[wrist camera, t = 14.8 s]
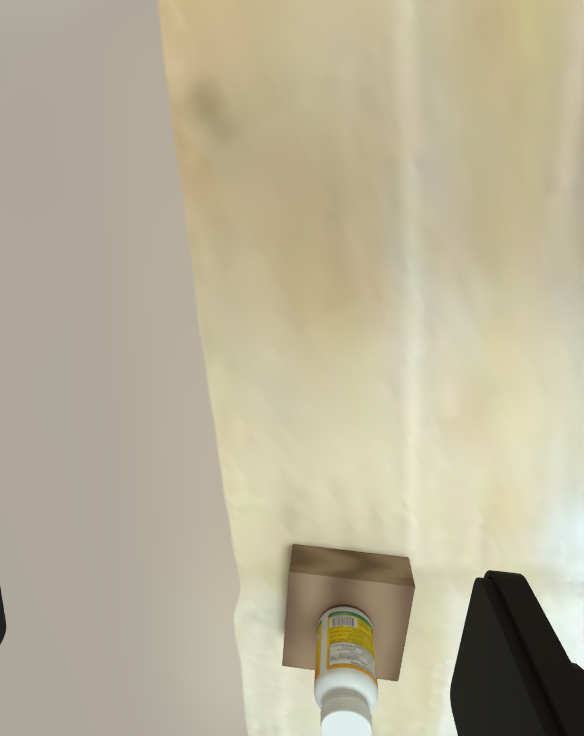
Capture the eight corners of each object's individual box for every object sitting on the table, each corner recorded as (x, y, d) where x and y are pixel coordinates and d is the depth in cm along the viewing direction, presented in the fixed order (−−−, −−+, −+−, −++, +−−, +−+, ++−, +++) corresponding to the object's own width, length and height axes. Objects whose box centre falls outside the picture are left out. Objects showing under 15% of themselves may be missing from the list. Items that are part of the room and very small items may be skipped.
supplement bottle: (344, 594, 44) (346, 693, 35) (384, 628, 45) (396, 733, 36) (306, 624, 46) (298, 726, 36) (345, 656, 47) (346, 764, 37)
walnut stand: (408, 557, 47) (415, 586, 43) (393, 647, 51) (398, 681, 47) (293, 544, 48) (289, 571, 44) (286, 633, 51) (282, 665, 48)
